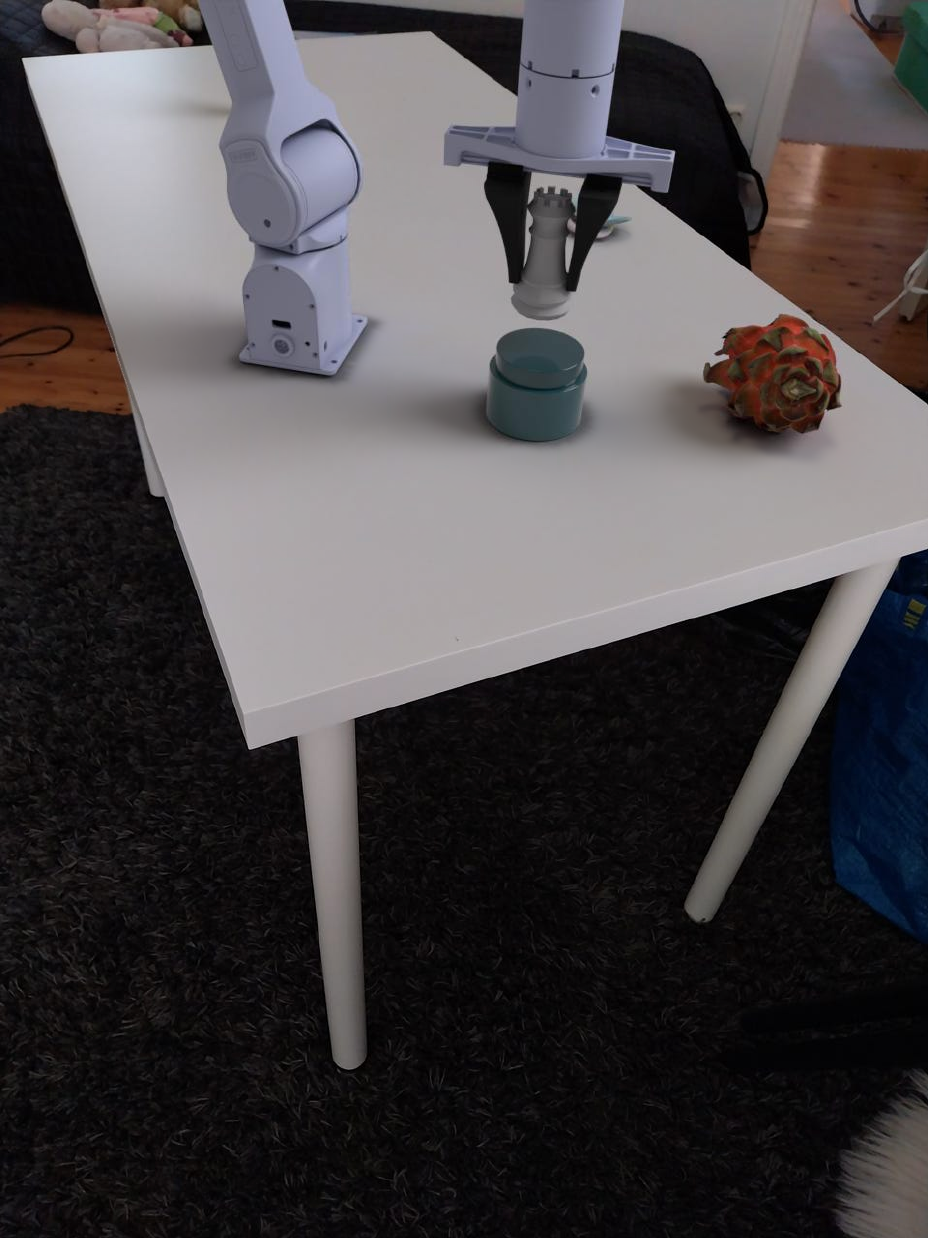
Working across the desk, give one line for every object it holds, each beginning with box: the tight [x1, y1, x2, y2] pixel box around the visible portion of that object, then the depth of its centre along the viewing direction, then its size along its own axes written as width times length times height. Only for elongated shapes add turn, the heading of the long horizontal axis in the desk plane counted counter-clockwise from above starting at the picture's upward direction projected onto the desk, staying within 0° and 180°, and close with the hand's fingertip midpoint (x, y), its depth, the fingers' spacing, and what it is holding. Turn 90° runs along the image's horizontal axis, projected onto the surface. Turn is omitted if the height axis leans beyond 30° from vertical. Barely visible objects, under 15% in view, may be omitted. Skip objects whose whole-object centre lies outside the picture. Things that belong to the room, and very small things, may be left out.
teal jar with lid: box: [485, 327, 588, 442], centre depth 71 cm, size 7×7×6 cm
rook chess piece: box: [510, 185, 576, 322], centre depth 66 cm, size 4×4×8 cm
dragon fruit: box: [702, 313, 843, 435], centre depth 72 cm, size 8×8×12 cm
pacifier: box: [567, 193, 633, 240], centre depth 96 cm, size 7×6×6 cm
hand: (544, 281), depth 67 cm, fingers closed on rook chess piece, 3 cm apart
